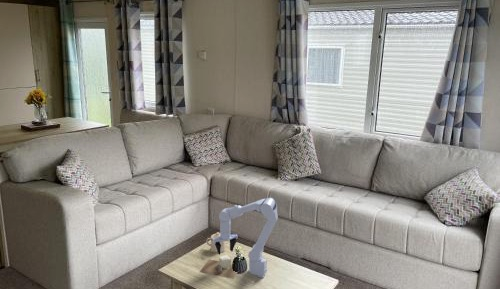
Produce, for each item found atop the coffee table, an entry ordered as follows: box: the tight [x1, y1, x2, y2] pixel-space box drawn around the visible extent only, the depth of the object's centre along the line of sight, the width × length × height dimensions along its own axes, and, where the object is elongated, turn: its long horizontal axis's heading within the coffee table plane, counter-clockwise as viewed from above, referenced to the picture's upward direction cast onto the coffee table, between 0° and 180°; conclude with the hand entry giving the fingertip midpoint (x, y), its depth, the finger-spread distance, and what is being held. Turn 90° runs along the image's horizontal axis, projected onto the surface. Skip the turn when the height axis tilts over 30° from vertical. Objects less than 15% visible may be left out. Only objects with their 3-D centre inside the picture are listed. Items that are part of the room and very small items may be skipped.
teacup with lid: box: [205, 231, 226, 254], centre depth 244 cm, size 12×9×12 cm
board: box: [199, 258, 239, 279], centre depth 223 cm, size 20×14×4 cm
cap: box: [218, 254, 232, 268], centre depth 226 cm, size 5×5×4 cm
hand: (225, 252), depth 225 cm, fingers open, 7 cm apart
